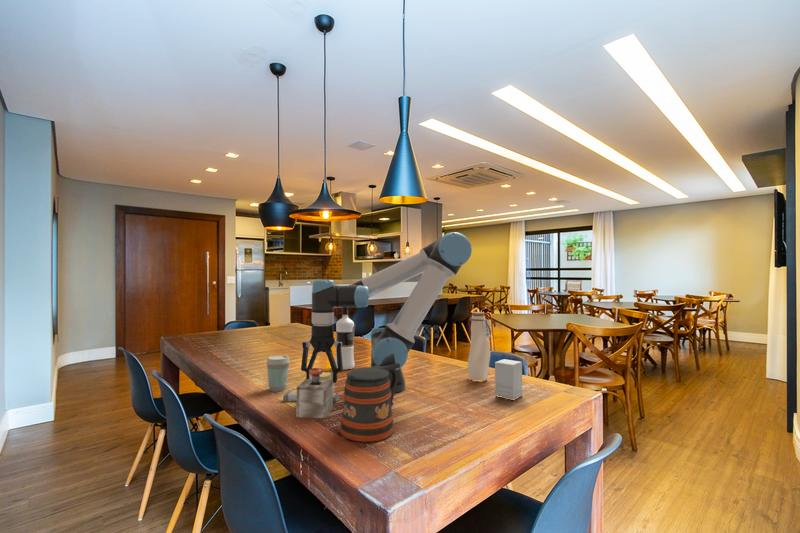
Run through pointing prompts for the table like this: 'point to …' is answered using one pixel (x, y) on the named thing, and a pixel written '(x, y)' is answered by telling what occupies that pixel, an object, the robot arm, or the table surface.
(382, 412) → the beer stein
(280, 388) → the coffee cup
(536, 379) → the table surface
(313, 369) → the plunger
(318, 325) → the robot arm
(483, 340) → the water bottle
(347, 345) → the vodka
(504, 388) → the supplement box
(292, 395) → the rail
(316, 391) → the grey open box
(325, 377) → the carriage
